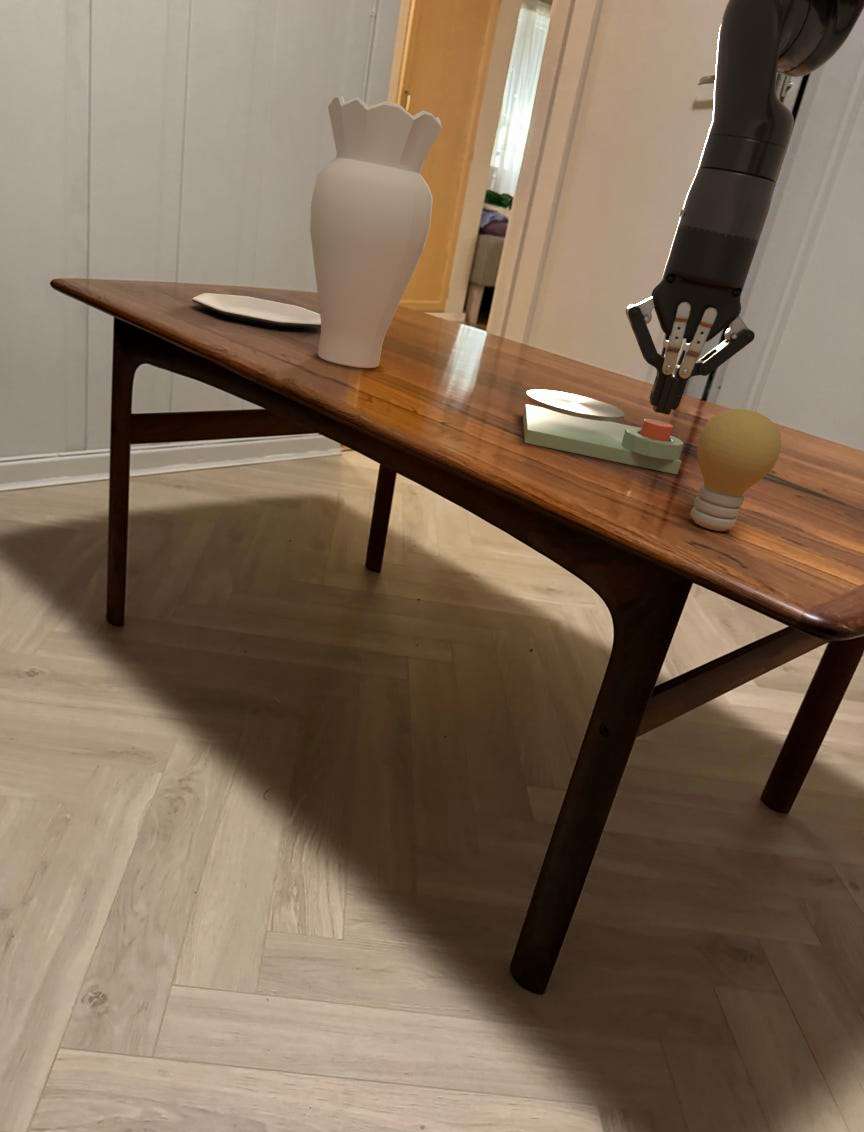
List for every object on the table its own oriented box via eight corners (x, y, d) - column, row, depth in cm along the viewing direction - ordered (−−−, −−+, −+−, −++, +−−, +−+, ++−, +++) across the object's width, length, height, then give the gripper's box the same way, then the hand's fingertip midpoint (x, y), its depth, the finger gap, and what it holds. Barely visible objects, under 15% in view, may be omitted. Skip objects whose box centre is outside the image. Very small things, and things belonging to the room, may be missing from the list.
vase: (317, 343, 125) (350, 104, 113) (416, 367, 122) (462, 125, 110) (273, 354, 113) (305, 85, 100) (383, 381, 110) (431, 108, 97)
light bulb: (657, 512, 78) (695, 397, 74) (709, 512, 81) (748, 402, 77) (710, 541, 74) (754, 419, 69) (763, 540, 77) (808, 423, 72)
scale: (657, 443, 105) (665, 418, 104) (678, 477, 92) (688, 448, 91) (522, 415, 106) (529, 390, 105) (524, 444, 92) (531, 415, 91)
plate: (170, 300, 137) (171, 289, 136) (276, 308, 150) (277, 298, 149) (243, 330, 124) (244, 318, 124) (351, 335, 137) (353, 325, 137)
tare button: (665, 439, 95) (670, 422, 94) (670, 445, 92) (675, 428, 91) (637, 433, 95) (642, 416, 94) (641, 439, 92) (646, 422, 91)
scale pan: (618, 407, 105) (619, 403, 104) (629, 427, 95) (630, 423, 95) (524, 388, 105) (525, 384, 105) (526, 406, 95) (527, 401, 95)
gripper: (655, 215, 81) (600, 405, 89) (800, 244, 81) (733, 433, 89) (644, 214, 88) (594, 392, 96) (778, 241, 88) (717, 418, 95)
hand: (661, 411), depth 92 cm, fingers closed
